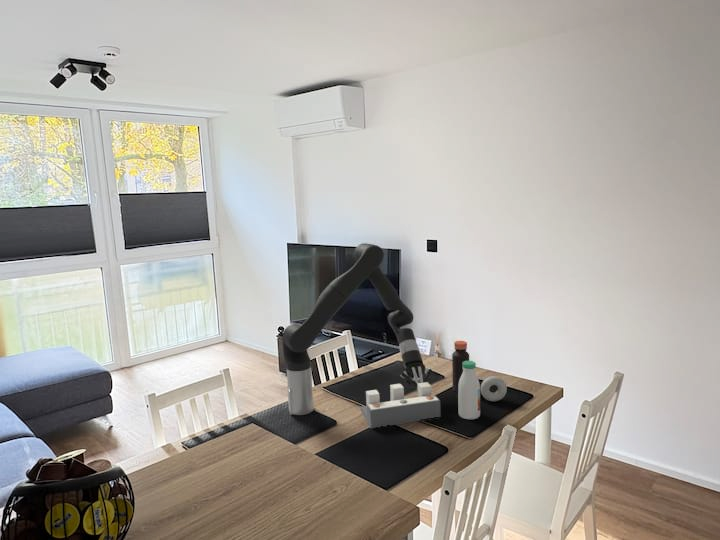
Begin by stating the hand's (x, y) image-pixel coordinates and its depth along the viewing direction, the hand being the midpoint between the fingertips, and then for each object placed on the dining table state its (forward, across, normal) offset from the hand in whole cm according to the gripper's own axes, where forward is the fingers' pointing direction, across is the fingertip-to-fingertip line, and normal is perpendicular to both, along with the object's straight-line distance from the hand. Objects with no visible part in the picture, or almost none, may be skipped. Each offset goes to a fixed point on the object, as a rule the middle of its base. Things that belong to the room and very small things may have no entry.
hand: (422, 394), depth 187 cm
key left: (+4, -20, 0) cm, 20 cm away
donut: (+6, +28, +1) cm, 28 cm away
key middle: (+2, -10, +2) cm, 10 cm away
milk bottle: (+12, +14, -5) cm, 19 cm away
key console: (+6, -10, +1) cm, 11 cm away
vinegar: (-4, +20, +11) cm, 23 cm away
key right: (+4, 0, 0) cm, 4 cm away
